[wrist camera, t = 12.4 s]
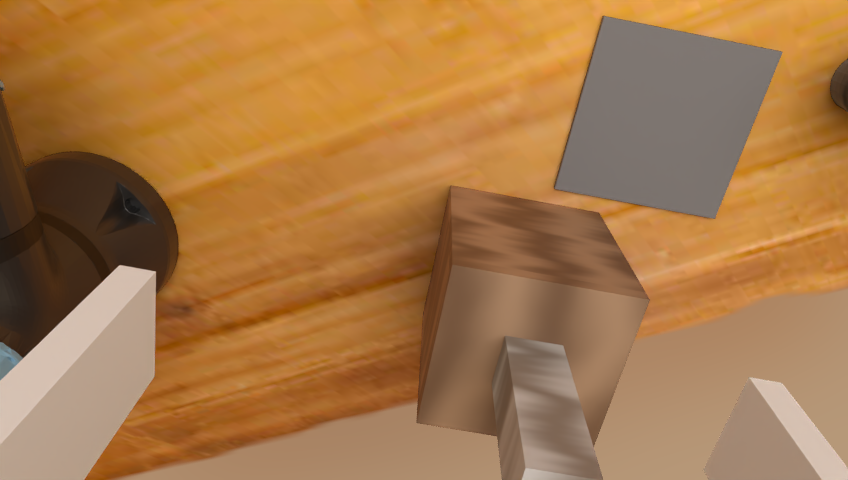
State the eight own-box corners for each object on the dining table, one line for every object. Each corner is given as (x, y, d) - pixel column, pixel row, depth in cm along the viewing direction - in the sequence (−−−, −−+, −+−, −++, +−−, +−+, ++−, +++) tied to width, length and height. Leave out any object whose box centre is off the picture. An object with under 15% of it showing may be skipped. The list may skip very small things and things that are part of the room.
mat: (553, 187, 54) (554, 189, 54) (603, 15, 48) (604, 16, 48) (712, 216, 55) (714, 218, 54) (780, 51, 49) (782, 52, 49)
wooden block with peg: (423, 314, 60) (407, 570, 35) (450, 185, 54) (455, 380, 30) (558, 338, 60) (636, 605, 36) (598, 212, 55) (723, 425, 30)
